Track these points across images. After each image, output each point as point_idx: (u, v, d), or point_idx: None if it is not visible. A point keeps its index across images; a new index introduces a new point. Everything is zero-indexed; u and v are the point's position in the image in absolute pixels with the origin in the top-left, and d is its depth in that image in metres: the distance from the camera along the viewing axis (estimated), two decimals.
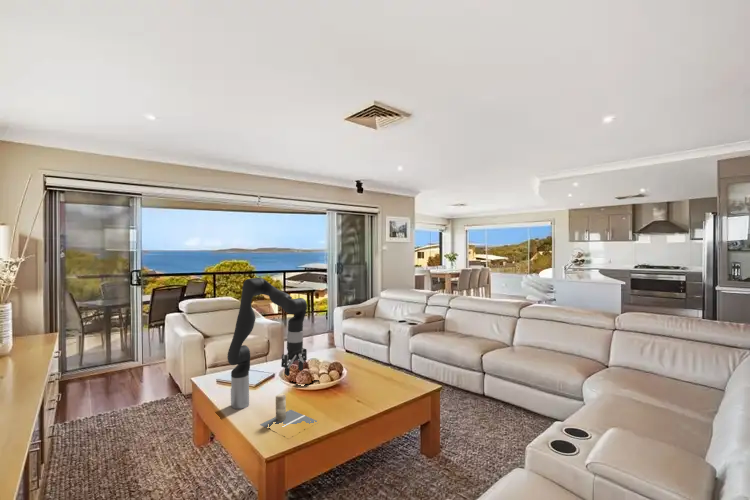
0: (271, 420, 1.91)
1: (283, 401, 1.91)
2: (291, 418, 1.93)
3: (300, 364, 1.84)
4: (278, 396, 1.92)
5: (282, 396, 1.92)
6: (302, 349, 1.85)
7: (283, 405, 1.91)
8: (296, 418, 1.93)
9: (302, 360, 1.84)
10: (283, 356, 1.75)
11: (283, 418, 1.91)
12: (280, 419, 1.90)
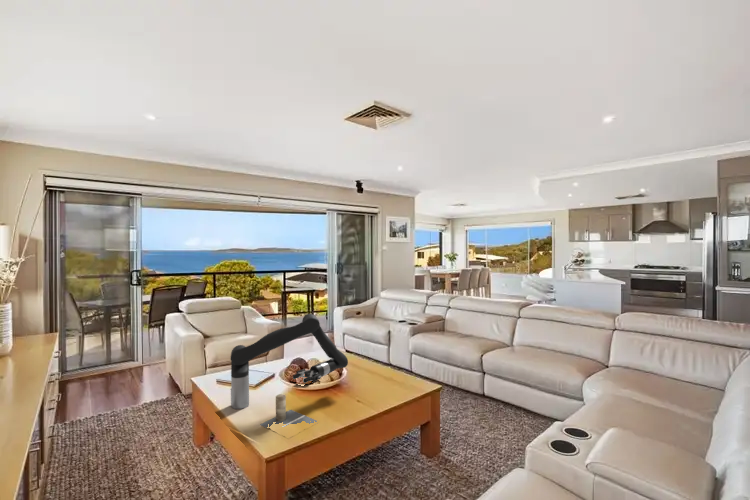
0: (271, 420, 1.91)
1: (283, 401, 1.91)
2: (291, 418, 1.93)
3: (297, 376, 2.06)
4: (278, 396, 1.92)
5: (282, 396, 1.92)
6: (306, 371, 2.13)
7: (283, 405, 1.91)
8: (296, 418, 1.93)
9: (300, 376, 2.08)
10: (320, 376, 2.05)
11: (283, 418, 1.91)
12: (280, 419, 1.90)
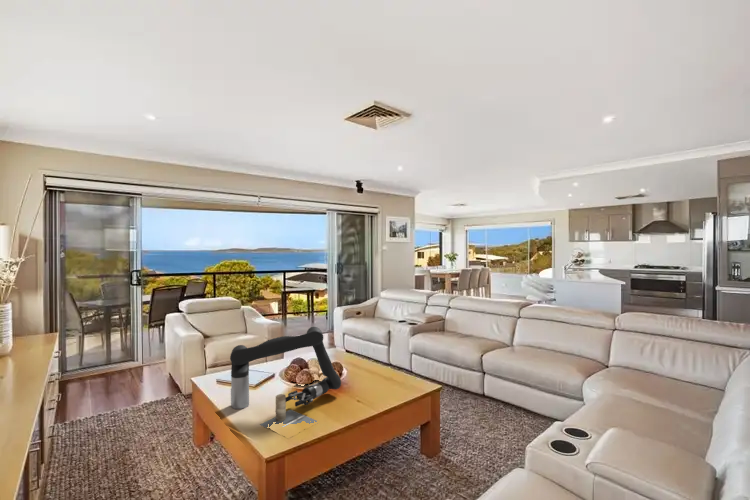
0: (271, 420, 1.91)
1: (283, 401, 1.91)
2: (291, 418, 1.93)
3: (289, 398, 2.02)
4: (278, 396, 1.92)
5: (282, 396, 1.92)
6: (298, 393, 2.09)
7: (283, 405, 1.91)
8: (296, 418, 1.93)
9: None
10: (312, 398, 2.01)
11: (283, 418, 1.91)
12: (280, 419, 1.90)
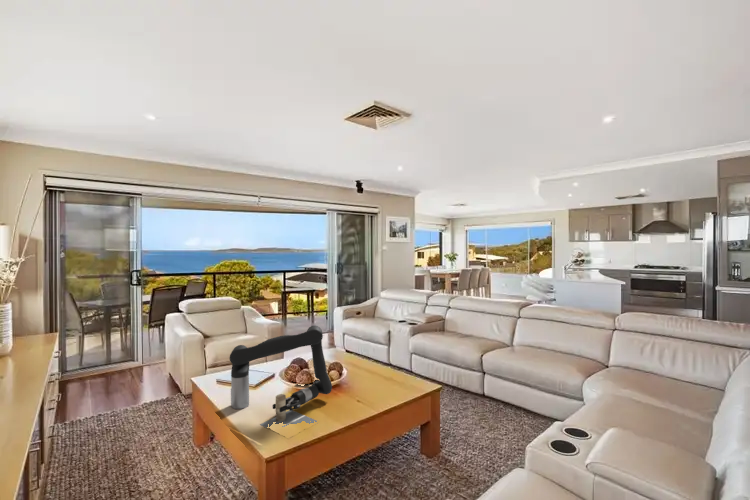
0: (271, 420, 1.91)
1: (283, 401, 1.91)
2: (291, 418, 1.93)
3: None
4: (278, 396, 1.92)
5: (282, 396, 1.92)
6: None
7: (283, 405, 1.91)
8: (296, 418, 1.93)
9: None
10: (299, 405, 1.94)
11: (283, 418, 1.91)
12: (280, 419, 1.90)
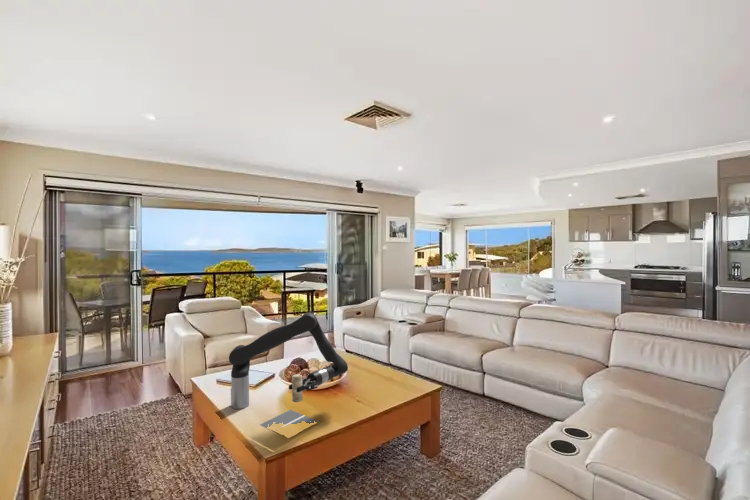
0: (271, 420, 1.91)
1: (300, 381, 1.83)
2: (291, 418, 1.93)
3: None
4: (294, 376, 1.84)
5: (299, 376, 1.84)
6: None
7: (300, 385, 1.83)
8: (296, 418, 1.93)
9: None
10: (316, 385, 1.86)
11: (300, 399, 1.83)
12: (297, 400, 1.83)
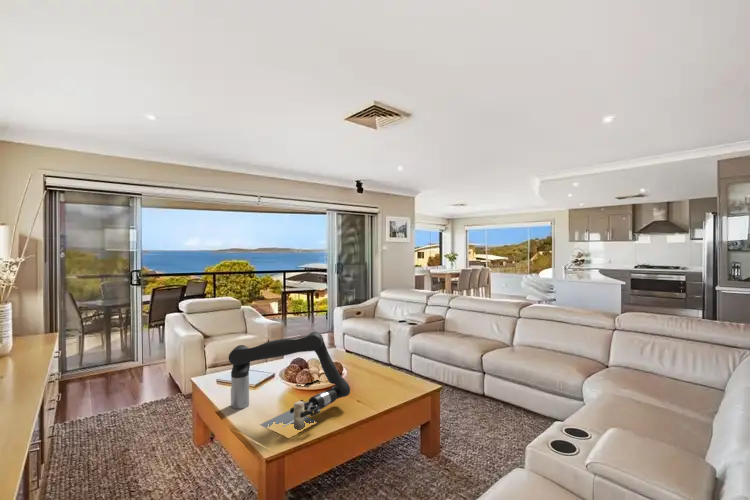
0: (271, 420, 1.91)
1: (302, 409, 1.82)
2: (291, 418, 1.93)
3: None
4: (296, 403, 1.83)
5: (301, 403, 1.83)
6: None
7: None
8: None
9: None
10: (319, 409, 1.86)
11: (302, 426, 1.83)
12: (299, 427, 1.82)
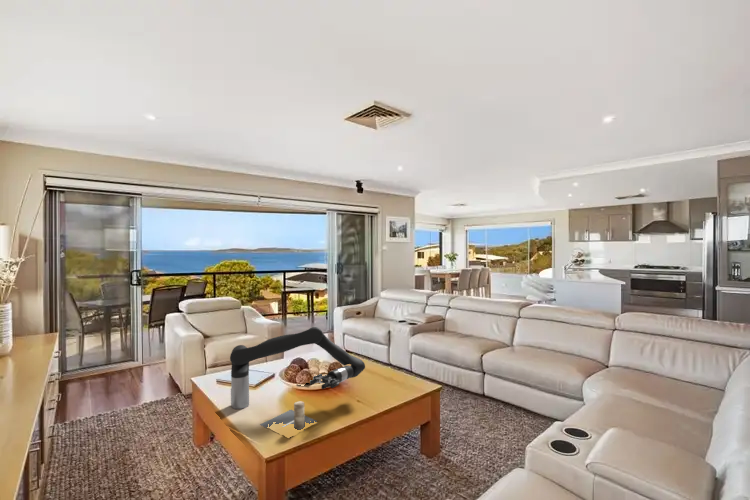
0: (271, 420, 1.91)
1: (302, 409, 1.82)
2: (291, 418, 1.93)
3: (315, 381, 1.98)
4: (297, 403, 1.84)
5: (301, 403, 1.84)
6: None
7: (302, 413, 1.82)
8: None
9: None
10: (338, 382, 1.96)
11: (302, 426, 1.83)
12: (299, 427, 1.82)
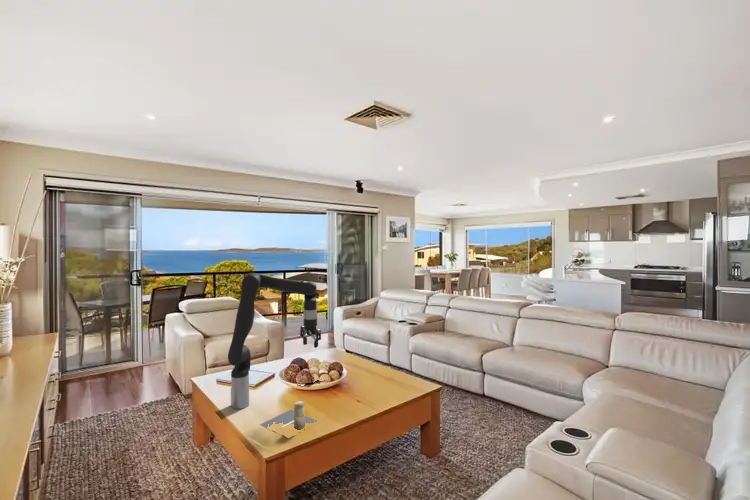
0: (271, 420, 1.91)
1: (302, 409, 1.82)
2: (291, 418, 1.93)
3: (305, 339, 2.12)
4: (297, 403, 1.84)
5: (301, 403, 1.84)
6: (304, 326, 2.12)
7: (302, 413, 1.82)
8: None
9: (306, 335, 2.13)
10: (318, 330, 2.05)
11: (302, 426, 1.83)
12: (299, 427, 1.82)
